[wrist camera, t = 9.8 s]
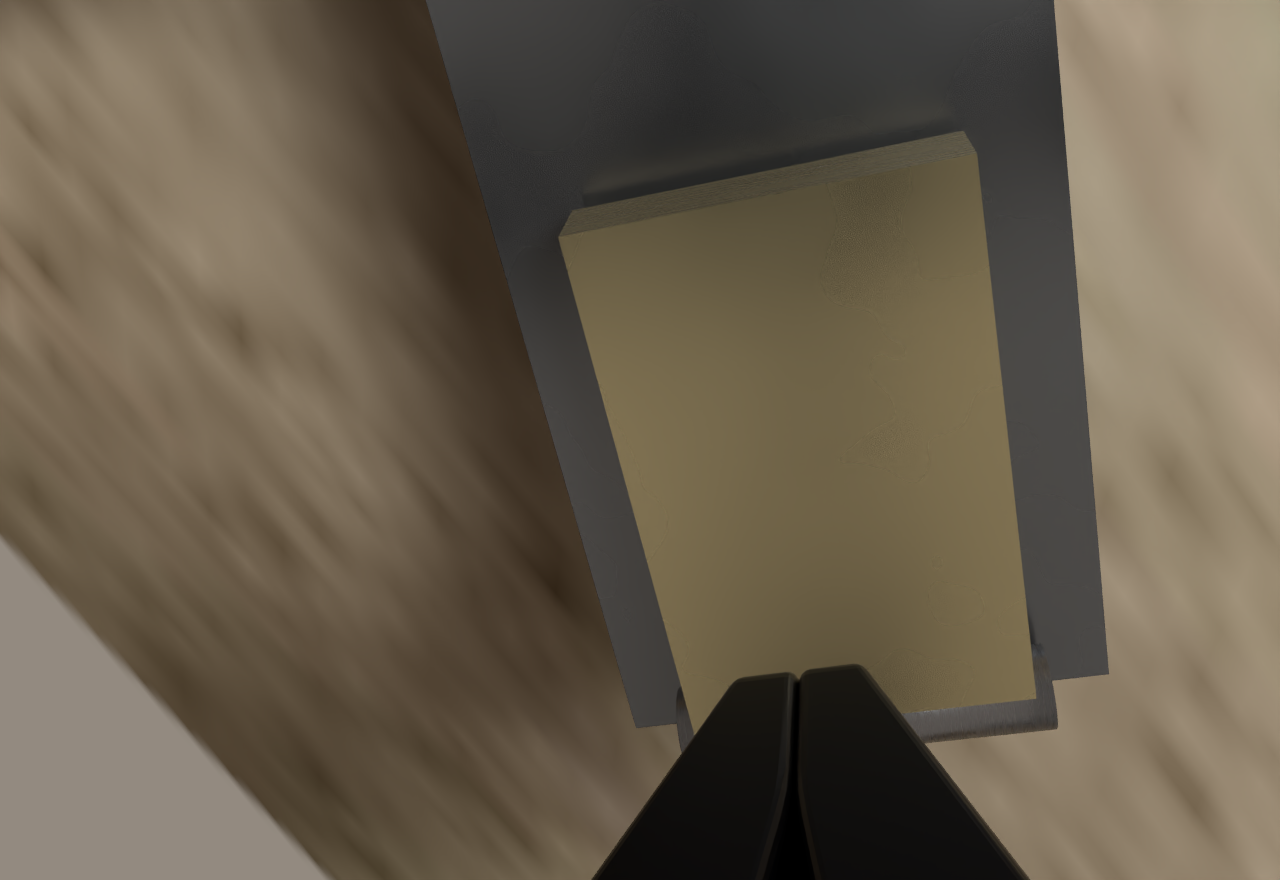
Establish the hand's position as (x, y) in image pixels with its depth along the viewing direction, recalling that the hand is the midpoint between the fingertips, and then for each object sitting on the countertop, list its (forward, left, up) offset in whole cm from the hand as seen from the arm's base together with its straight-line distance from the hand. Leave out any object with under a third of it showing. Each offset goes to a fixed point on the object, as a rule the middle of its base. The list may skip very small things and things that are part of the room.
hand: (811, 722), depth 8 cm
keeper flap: (-1, 0, -6) cm, 6 cm away
